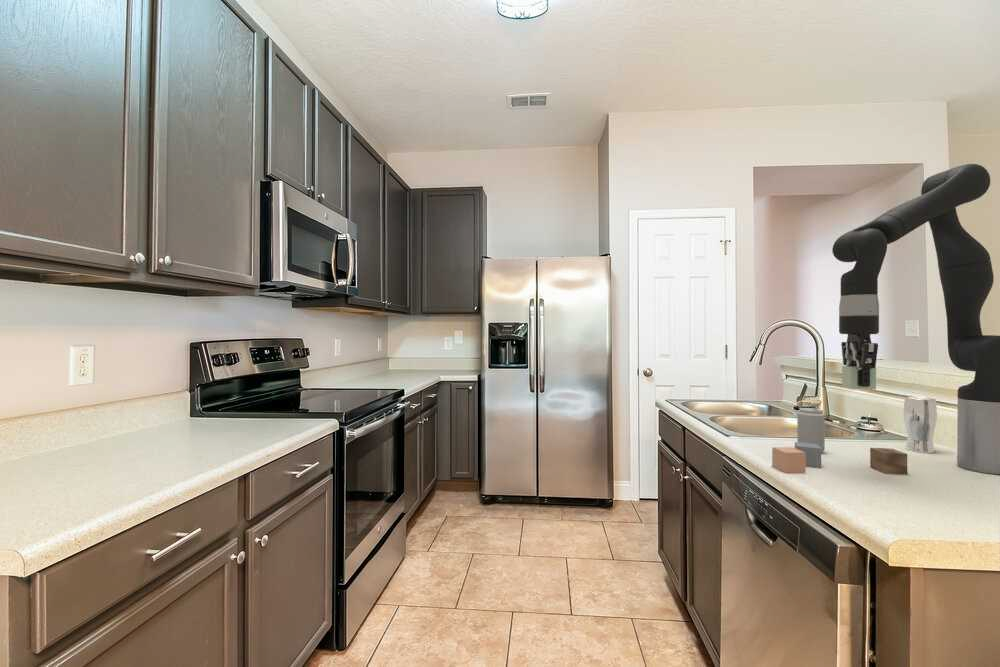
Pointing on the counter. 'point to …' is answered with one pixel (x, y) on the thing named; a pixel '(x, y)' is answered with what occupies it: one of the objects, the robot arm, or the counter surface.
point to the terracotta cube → (788, 459)
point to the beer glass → (920, 423)
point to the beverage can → (811, 427)
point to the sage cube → (856, 378)
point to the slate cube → (810, 453)
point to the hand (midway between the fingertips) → (858, 384)
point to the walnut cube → (888, 460)
